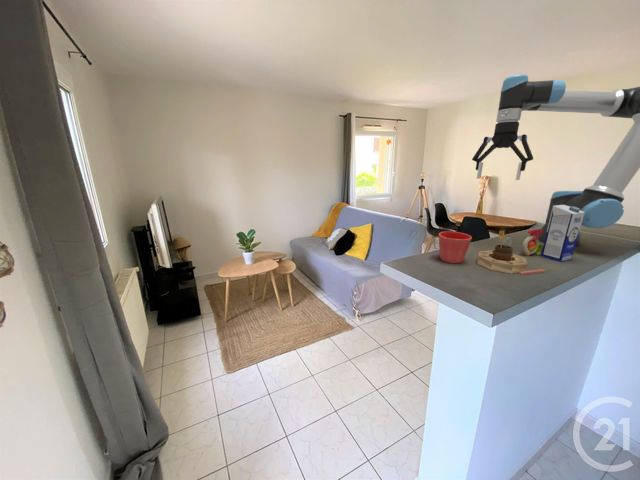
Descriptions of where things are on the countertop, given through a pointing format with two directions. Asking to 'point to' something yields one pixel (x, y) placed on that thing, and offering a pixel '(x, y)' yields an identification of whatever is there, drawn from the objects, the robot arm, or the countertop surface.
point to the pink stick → (532, 272)
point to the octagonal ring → (502, 263)
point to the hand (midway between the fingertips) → (497, 179)
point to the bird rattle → (532, 243)
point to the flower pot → (453, 246)
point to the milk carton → (562, 232)
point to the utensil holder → (503, 250)
